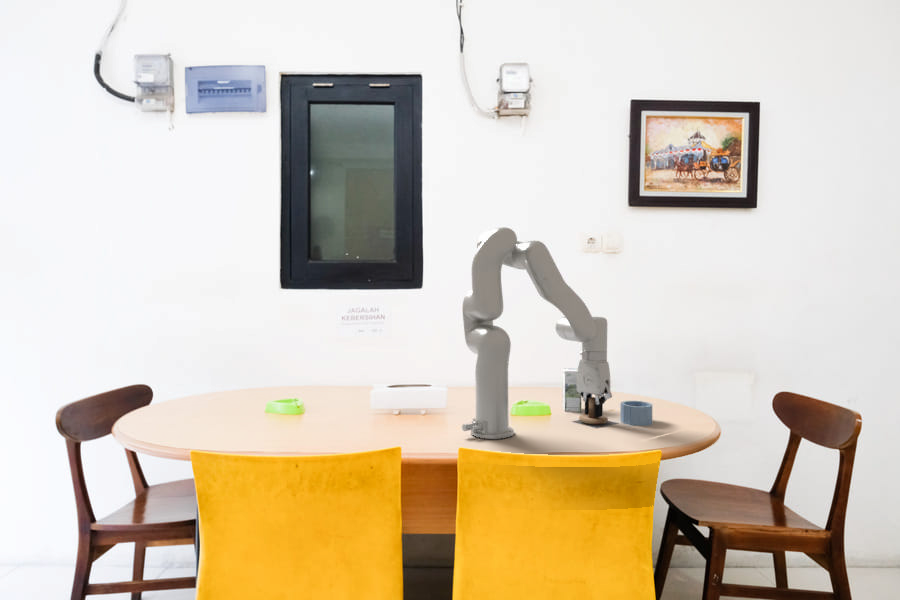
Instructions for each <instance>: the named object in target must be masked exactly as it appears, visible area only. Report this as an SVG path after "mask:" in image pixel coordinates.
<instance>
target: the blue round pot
mask: <svg viewBox="0 0 900 600" xmlns="http://www.w3.org/2000/svg"><path fill="white" fill-rule="evenodd" d="M620 422H621V423H623V424H625V425H629V426H638V427H642V426H643V427H644V426H651V425H653V403H651V402H648V401H642V400H640V401H639V400H624V401H621V402H620Z"/></svg>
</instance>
